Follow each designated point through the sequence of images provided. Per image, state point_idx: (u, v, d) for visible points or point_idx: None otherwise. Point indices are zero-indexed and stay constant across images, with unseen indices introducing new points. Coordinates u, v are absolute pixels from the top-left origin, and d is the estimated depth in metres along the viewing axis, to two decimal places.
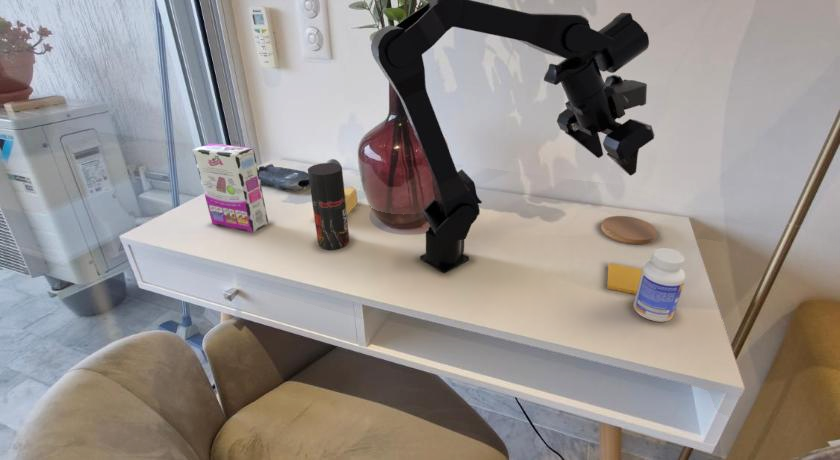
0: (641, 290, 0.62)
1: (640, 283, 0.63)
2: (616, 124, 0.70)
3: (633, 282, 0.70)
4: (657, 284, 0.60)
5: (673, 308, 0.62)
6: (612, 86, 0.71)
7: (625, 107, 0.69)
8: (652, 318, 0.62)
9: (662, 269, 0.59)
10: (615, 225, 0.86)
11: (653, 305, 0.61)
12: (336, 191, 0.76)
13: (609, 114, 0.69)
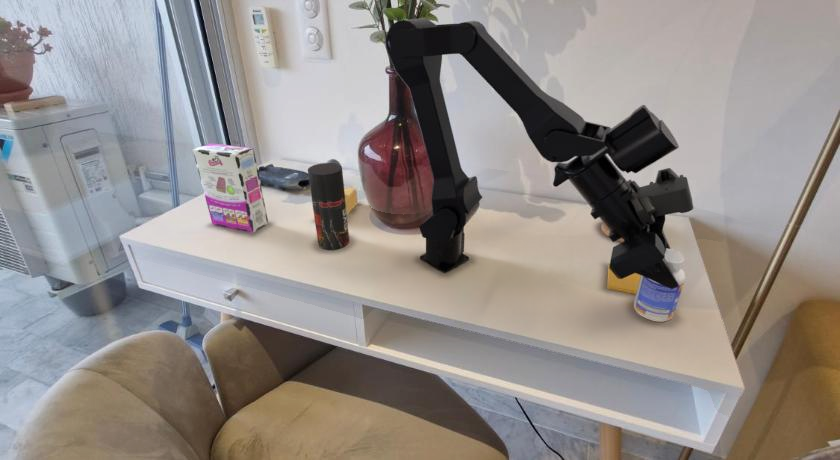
0: (641, 290, 0.62)
1: (640, 283, 0.63)
2: (644, 226, 0.59)
3: (633, 282, 0.70)
4: (657, 283, 0.60)
5: (673, 308, 0.62)
6: (654, 184, 0.58)
7: (655, 213, 0.56)
8: (652, 318, 0.62)
9: None
10: None
11: (653, 305, 0.61)
12: (336, 191, 0.76)
13: (629, 221, 0.58)
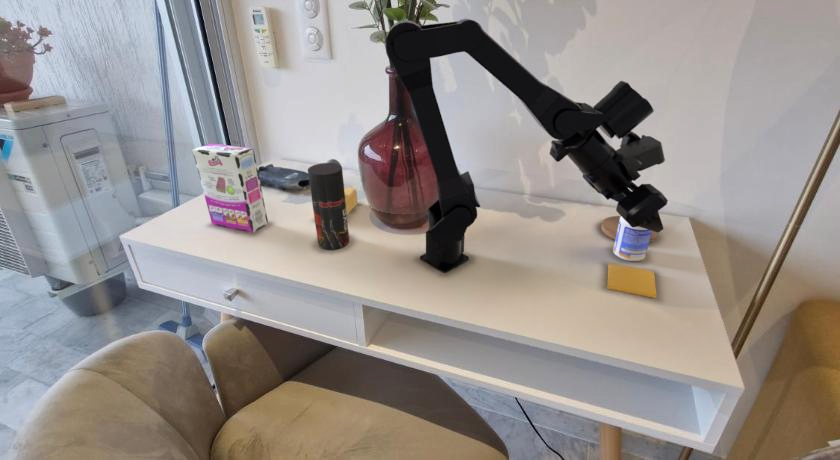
0: (624, 239, 0.75)
1: (621, 233, 0.76)
2: (632, 186, 0.69)
3: (633, 282, 0.70)
4: (639, 230, 0.73)
5: (647, 247, 0.76)
6: (627, 146, 0.71)
7: (640, 169, 0.68)
8: (635, 259, 0.76)
9: None
10: (615, 225, 0.86)
11: (636, 248, 0.75)
12: (336, 191, 0.76)
13: (622, 179, 0.69)
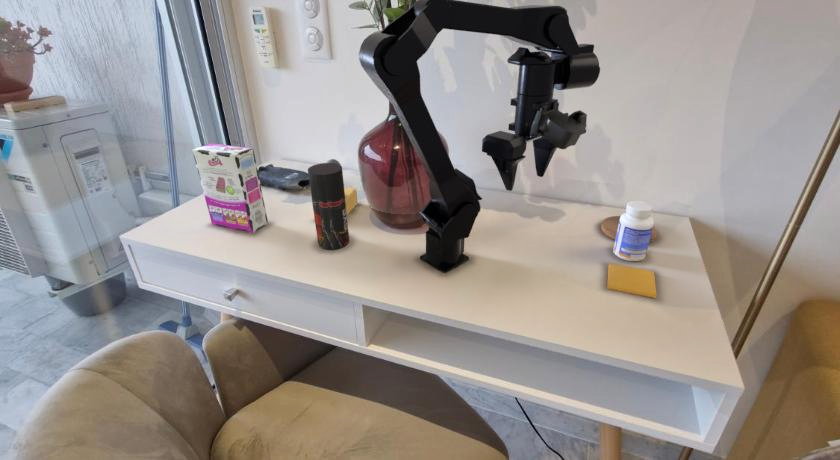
0: (624, 239, 0.75)
1: (621, 233, 0.76)
2: (527, 139, 0.71)
3: (633, 282, 0.70)
4: (639, 230, 0.73)
5: (647, 247, 0.76)
6: (565, 116, 0.69)
7: (542, 133, 0.69)
8: (635, 259, 0.76)
9: (641, 217, 0.73)
10: (615, 225, 0.86)
11: (636, 248, 0.75)
12: (336, 191, 0.76)
13: (526, 124, 0.70)
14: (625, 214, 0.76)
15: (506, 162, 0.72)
